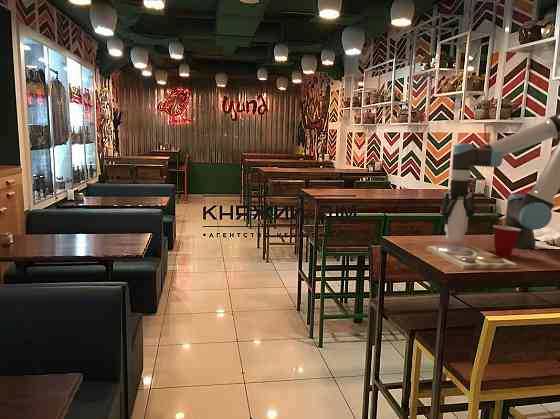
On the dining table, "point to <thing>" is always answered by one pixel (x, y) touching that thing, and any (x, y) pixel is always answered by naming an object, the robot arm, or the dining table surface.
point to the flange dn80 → (489, 258)
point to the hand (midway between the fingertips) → (455, 231)
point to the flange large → (454, 250)
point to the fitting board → (478, 264)
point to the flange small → (468, 260)
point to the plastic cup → (504, 239)
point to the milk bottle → (457, 222)
